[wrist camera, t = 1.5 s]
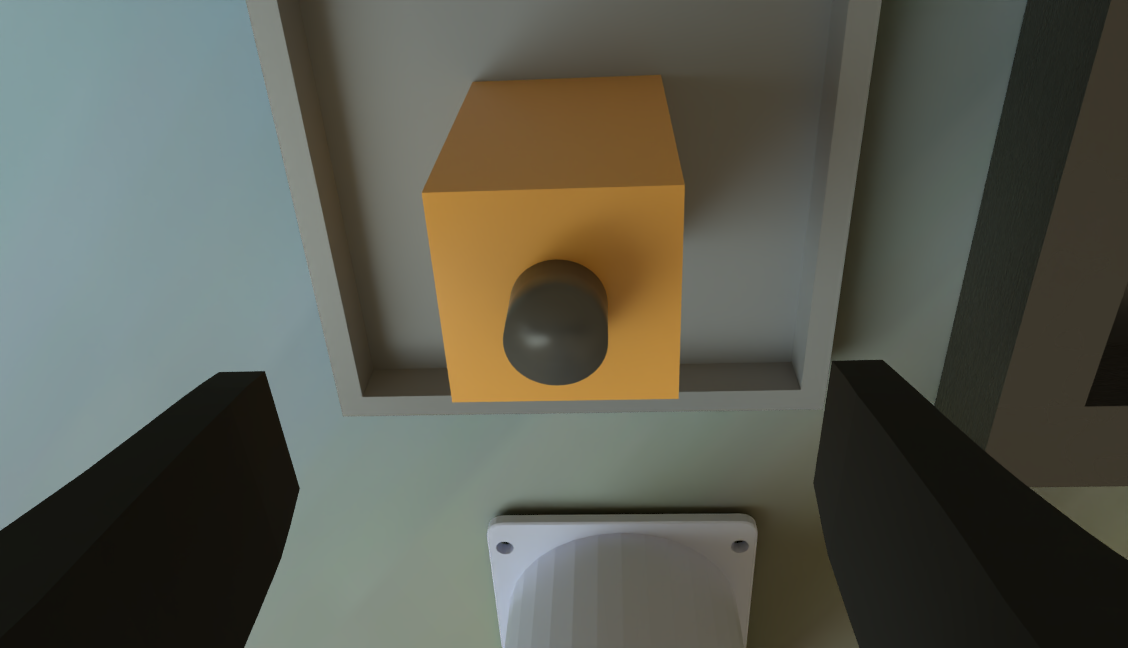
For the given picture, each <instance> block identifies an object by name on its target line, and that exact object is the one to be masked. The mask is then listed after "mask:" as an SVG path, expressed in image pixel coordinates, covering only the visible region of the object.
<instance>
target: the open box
mask: <svg viewBox="0 0 1128 648" xmlns="http://www.w3.org/2000/svg"><path fill="white" fill-rule="evenodd" d="M935 407H936V408H937V409H938V410H939V411H940V412H941V413H942V414H943V415H944V416H946V417H947V418H948V419H949V420H950V421H951V422H952V423H953V424H954V425H956V426H957V427H958V428H959V429H960V430H961V431H962V432H964V433H965V434H966V435H967V436H968V437H969V438H970V439H972V440H973V441H974V442H975V443H976V444H977V445H978V446H980V447H981V448H982V449H983V450H984V451H985V452H987V453H988V454H989V455H990V456H991V457H992V458H994V459H995V460H996V461H997V462H998V463H1000V464H1001V465H1002V466H1003V467H1004V468H1006V469H1007V470H1008V471H1009V472H1010V473H1012V474H1013V475H1014V476H1015V477H1017V478H1018V479H1019V480H1020V481H1022V482H1023V483H1024V484H1025V485H1027V486H1028V487H1079V486H1128V0H1028V1H1027V6H1026V10H1025V14H1024V19H1023V23H1022V27H1021V32H1020V36H1019V40H1018V45H1017V49H1016V53H1015V58H1014V62H1013V67H1012V71H1011V75H1010V80H1009V84H1008V88H1007V93H1006V97H1005V101H1004V106H1003V110H1002V114H1001V119H1000V123H999V128H998V132H997V136H996V141H995V145H994V149H993V154H992V158H991V162H990V167H989V171H988V176H987V180H986V184H985V189H984V193H983V197H982V202H981V206H980V210H979V215H978V219H977V223H976V228H975V232H974V237H973V241H972V245H971V250H970V254H969V258H968V263H967V267H966V271H965V276H964V280H963V284H962V289H961V293H960V298H959V302H958V306H957V311H956V315H955V319H954V324H953V328H952V332H951V337H950V341H949V345H948V350H947V354H946V359H945V363H944V367H943V372H942V376H941V380H940V385H939V389H938V393H937V398H936V402H935Z"/></svg>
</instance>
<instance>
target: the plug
mask: <svg viewBox="0 0 1128 648" xmlns="http://www.w3.org/2000/svg"><path fill="white" fill-rule="evenodd" d="M684 198H685V183H684V179H683V174H682V169H681V165H680V160H679V156H678V151H677V146H676V142H675V137H674V133H673V128H672V123H671V119H670V114H669V109H668V105H667V100H666V96H665V91H664V86H663V82H662V77H661V75H641V76H614V77H588V78H561V79H535V80H508V81H481V82H472V84H471V86H470V88H469V91H468V93H467V95H466V97H465V99H464V102H463V104H462V106H461V108H460V110H459V112H458V115H457V117H456V119H455V121H454V123H453V125H452V128H451V130H450V132H449V134H448V136H447V139H446V141H445V143H444V145H443V147H442V149H441V152H440V154H439V156H438V158H437V160H436V162H435V165H434V167H433V169H432V171H431V173H430V176H429V178H428V180H427V182H426V184H425V186H424V189H423V191H422V199H423V206H424V213H425V220H426V227H427V234H428V240H429V247H430V254H431V261H432V268H433V274H434V281H435V288H436V295H437V302H438V309H439V315H440V322H441V329H442V336H443V343H444V349H445V356H446V363H447V370H448V377H449V384H450V390H451V397H452V402H512V401H576V400H640V399H679V368H680V334H681V300H682V266H683V232H684Z"/></svg>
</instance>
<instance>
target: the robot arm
mask: <svg viewBox="0 0 1128 648" xmlns="http://www.w3.org/2000/svg"><path fill="white" fill-rule="evenodd" d="M814 488H815V493H816V498H817V504H818V509H819V514H820V519H821V524H822V529H823V533H824V538H825V543H826V547H827V552H828V556H829V559H830V562H831V565H832V568H833V571H834V575H835V577H836V580H837V583H838V586H839V589H840V592H841V595H842V598H843V601H844V604H845V607H846V610H847V613H848V616H849V619H850V622H851V625H852V628H853V630H854V633H855V636H856V639H857V642H858V645H859V648H1128V560H1127V559H1125V558H1124V557H1122V556H1121V555H1119V554H1118V553H1116V552H1115V551H1113V550H1112V549H1111V548H1109V547H1108V546H1106V545H1105V544H1103V543H1102V542H1101V541H1099V540H1098V539H1096V538H1095V537H1094V536H1092V535H1091V534H1089V533H1088V532H1087V531H1085V530H1084V529H1083V528H1081V527H1080V526H1079V525H1077V524H1076V523H1075V522H1073V521H1072V520H1071V519H1069V518H1068V517H1067V516H1065V515H1064V514H1063V513H1062V512H1060V511H1059V510H1058V509H1056V508H1055V507H1054V506H1052V505H1051V504H1050V503H1048V502H1047V501H1046V500H1044V499H1043V498H1042V497H1041V496H1039V495H1038V494H1037V493H1035V492H1034V491H1033V490H1032V489H1030V488H1029V487H1028V486H1027V485H1025V484H1024V483H1023V482H1022V481H1020V480H1019V479H1018V478H1017V477H1015V476H1014V475H1013V474H1012V473H1010V472H1009V471H1008V470H1007V469H1006V468H1004V467H1003V466H1002V465H1001V464H1000V463H998V462H997V461H996V460H995V459H994V458H992V457H991V456H990V455H989V454H988V453H987V452H985V451H984V450H983V449H982V448H981V447H980V446H978V445H977V444H976V443H975V442H974V441H973V440H972V439H970V438H969V437H968V436H967V435H966V434H965V433H964V432H962V431H961V430H960V429H959V428H958V427H957V426H956V425H954V424H953V423H952V422H951V421H950V420H949V419H948V418H947V417H946V416H944V415H943V414H942V413H941V412H940V411H939V410H938V409H937V408H936V407H934V406H933V405H932V404H931V403H930V402H929V401H928V400H927V399H926V398H924V397H923V396H922V395H921V394H920V393H919V392H918V391H917V390H916V389H915V388H913V387H912V386H911V385H910V384H909V383H908V382H907V381H906V380H905V379H904V378H902V377H901V376H900V375H899V374H898V373H897V372H896V371H895V370H893V369H892V368H891V367H890V366H889V365H888V364H887V363H885V362H884V361H883V360H851V361H832V365H831V371H830V378H829V385H828V391H827V398H826V404H825V411H824V418H823V424H822V431H821V437H820V444H819V450H818V457H817V464H816V470H815V477H814ZM299 489H300V488H299V485H298V481H297V478H296V475H295V471H294V468H293V464H292V461H291V458H290V454H289V451H288V448H287V444H286V441H285V438H284V434H283V431H282V427H281V424H280V421H279V417H278V414H277V411H276V407H275V404H274V400H273V397H272V394H271V390H270V387H269V384H268V380H267V377H266V374H265V371H255V372H219V373H217V374H216V375H214V376H212V377H211V378H209V379H208V380H206V381H205V382H203V383H202V384H201V385H199V386H198V387H196V388H195V389H194V390H192V391H191V392H190V393H188V394H187V395H185V396H184V397H183V398H181V399H180V400H179V401H177V402H176V403H175V404H173V405H172V406H171V407H170V408H168V409H167V410H166V411H164V412H163V413H162V414H160V415H159V416H158V417H156V418H155V419H154V420H152V421H151V422H150V423H149V424H147V425H146V426H145V427H143V428H142V429H141V430H139V431H138V432H137V433H135V434H134V435H133V436H131V437H130V438H129V439H127V440H126V441H125V442H123V443H122V444H121V445H119V446H118V447H117V448H116V449H114V450H113V451H112V452H110V453H109V454H108V455H106V456H105V457H104V458H102V459H101V460H100V461H98V462H97V463H96V464H94V465H93V466H92V467H90V468H89V469H88V470H86V471H85V472H84V473H82V474H81V475H79V476H78V477H77V478H75V479H74V480H72V481H71V482H69V483H68V484H67V485H65V486H64V487H62V488H61V489H59V490H58V491H57V492H55V493H54V494H52V495H51V496H49V497H48V498H47V499H45V500H44V501H42V502H41V503H39V504H38V505H37V506H35V507H34V508H32V509H31V510H29V511H28V512H27V513H25V514H24V515H22V516H21V517H19V518H18V519H17V520H15V521H14V522H12V523H11V524H9V525H8V526H7V527H5V528H4V529H2V530H1V531H0V648H244V647H245V644H246V642H247V640H248V637H249V635H250V632H251V630H252V628H253V625H254V623H255V621H256V618H257V616H258V614H259V611H260V609H261V606H262V604H263V601H264V599H265V597H266V594H267V592H268V589H269V587H270V585H271V582H272V580H273V577H274V575H275V572H276V570H277V567H278V565H279V562H280V560H281V557H282V553H283V550H284V546H285V543H286V539H287V536H288V532H289V529H290V525H291V521H292V517H293V513H294V509H295V505H296V501H297V497H298V493H299ZM757 537H758V531H757V526H756V521H755V520H754V519H753V518H752V517H751V516H749V515H747V514H740V513H737V514H608V515H502V516H496V517H495V518H493V519H491V521H490V522H489V524H488V531H487V539H488V547H489V554H490V562H491V569H492V577H493V584H494V592H495V599H496V607H497V614H498V622H499V629H500V637H501V644H502V648H746V645H747V635H748V625H749V615H750V605H751V596H752V586H753V576H754V566H755V556H756V546H757ZM739 540H742V541H743V542H740V543H734V542H735V541H739ZM501 542H509V543H510V544H502V543H501Z"/></svg>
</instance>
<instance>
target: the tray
mask: <svg viewBox="0 0 1128 648" xmlns="http://www.w3.org/2000/svg"><path fill="white" fill-rule="evenodd" d="M881 3H882V0H246V4H247V8H248V12H249V17H250V21H251V25H252V30H253V34H254V38H255V42H256V47H257V51H258V55H259V59H260V64H261V68H262V72H263V77H264V81H265V85H266V89H267V94H268V98H269V102H270V106H271V111H272V115H273V119H274V123H275V128H276V132H277V136H278V141H279V145H280V149H281V153H282V158H283V162H284V166H285V170H286V175H287V179H288V183H289V188H290V192H291V196H292V200H293V205H294V209H295V213H296V217H297V222H298V226H299V230H300V234H301V239H302V243H303V247H304V252H305V256H306V260H307V264H308V269H309V273H310V277H311V281H312V286H313V290H314V294H315V299H316V303H317V307H318V311H319V316H320V320H321V324H322V328H323V333H324V337H325V341H326V346H327V350H328V354H329V358H330V363H331V367H332V371H333V375H334V380H335V384H336V388H337V392H338V397H339V401H340V405H341V410H342V414H343V416H408V415H476V414H544V413H612V412H680V411H748V410H816V409H824V402H825V395H826V388H827V381H828V374H829V367H830V360H831V353H832V346H833V339H834V332H835V325H836V318H837V311H838V304H839V297H840V290H841V283H842V276H843V269H844V262H845V255H846V248H847V241H848V234H849V227H850V220H851V213H852V206H853V199H854V192H855V185H856V178H857V171H858V164H859V157H860V150H861V143H862V136H863V129H864V122H865V115H866V108H867V101H868V94H869V87H870V80H871V73H872V66H873V59H874V52H875V45H876V38H877V31H878V24H879V17H880V10H881ZM641 75H661V77H662V82H663V86H664V91H665V96H666V100H667V105H668V109H669V114H670V119H671V123H672V128H673V133H674V137H675V142H676V146H677V151H678V156H679V160H680V165H681V169H682V174H683V179H684V183H685V198H684V232H683V266H682V300H681V334H680V368H679V399H640V400H576V401H512V402H452V397H451V390H450V384H449V377H448V370H447V363H446V356H445V349H444V343H443V336H442V329H441V322H440V315H439V309H438V302H437V295H436V288H435V281H434V274H433V268H432V261H431V254H430V247H429V240H428V234H427V227H426V220H425V213H424V206H423V199H422V191H423V189H424V186H425V184H426V182H427V180H428V178H429V176H430V173H431V171H432V169H433V167H434V165H435V162H436V160H437V158H438V156H439V154H440V152H441V149H442V147H443V145H444V143H445V141H446V139H447V136H448V134H449V132H450V130H451V128H452V125H453V123H454V121H455V119H456V117H457V115H458V112H459V110H460V108H461V106H462V104H463V102H464V99H465V97H466V95H467V93H468V91H469V88H470V86H471V84H472V82H481V81H508V80H535V79H561V78H588V77H614V76H641Z"/></svg>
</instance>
